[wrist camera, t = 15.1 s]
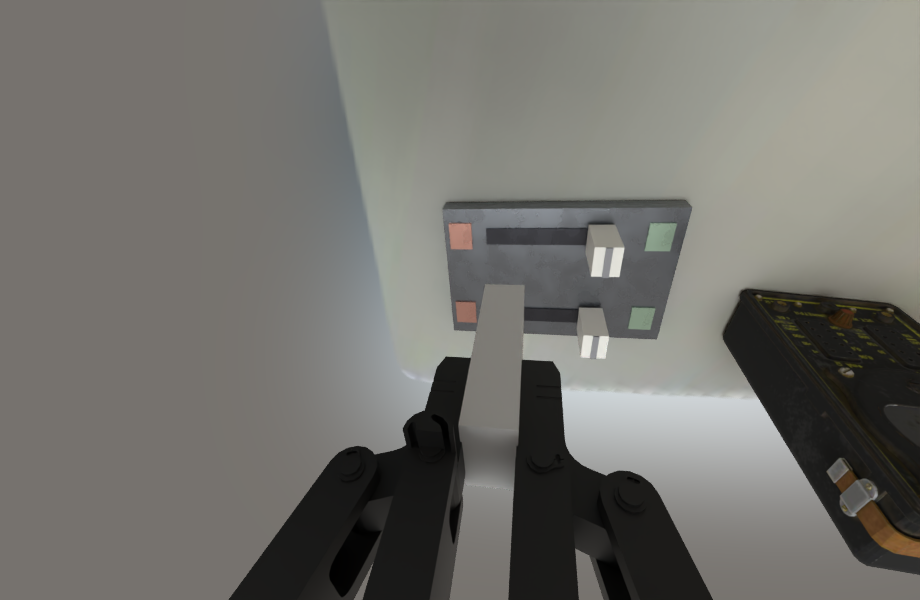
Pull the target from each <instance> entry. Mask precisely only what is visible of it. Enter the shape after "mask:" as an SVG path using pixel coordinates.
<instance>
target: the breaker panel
mask: <svg viewBox="0 0 920 600" xmlns="http://www.w3.org/2000/svg"><path fill="white" fill-rule="evenodd" d="M691 211H692V207H691V205H690V204H689V203H688V202H687V201H686V200H643V201H547V202H452V203H446V204H445V206H444V208H443V219H444V230H445V240H446V250H447V261H448V271H449V281H450V292H451V302H452V312H453V322H454V330H461V331H476V330H477V325H478V319H479V314H480V309H481V304H482V299H483V293H484V288H485V284H495V285H525V287H524V330H523V333H527V334H549V335H572V336H578V335H577V321H578V313H579V307H581V308H602V309H603V313H604V317H605V321H606V326H607V330H608V334H609V337H616V338H638V339H657V337H658V333H659V329H660V326H661V322H662V318H663V314H664V311H665V307H666V303H667V300H668V296H669V292H670V288H671V285H672V281H673V277H674V274H675V270H676V266H677V263H678V259H679V255H680V251H681V248H682V244H683V240H684V237H685V233H686V229H687V225H688V222H689V218H690V214H691ZM589 225H616V228H617V230H618V233H619V235H620V238H621V240H622V242H623V245H624V247H625V248H624V254H623V259H622V265H621V270H620V276H619V277H609V278H602V277H591V275H590V270H589V266H588V261H587V257H586V252H585V251H586V243H587V235H588V226H589Z"/></svg>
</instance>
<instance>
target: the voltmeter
mask: <svg viewBox="0 0 920 600" xmlns="http://www.w3.org/2000/svg"><path fill="white" fill-rule="evenodd" d="M740 300H741V301H742V302H741V304H740V305H739V307H738V309H737V311H736V313H735V315H734V317H733V319H732V321H731V322H730V324H729V326H728V328H727V330H726V332H725V334H724V336H723V340H724V342H725V344H726V345H727V347H728V349H729V350H730V352H731V354H732V355H733V357H734V359H735V360H736V362H737V363H738V365H739V367H740V368H741V370H742V372H743V373H744V375H745V377H746V378H747V380H748V382H749V383H750V385H751V387H752V388H753V390H754V392H755V393H756V395H757V397H758V398H759V400H760V402H761V403H762V405H763V406H764V408H765V410H766V411H767V413H768V415H769V416H770V418H771V420H772V421H773V423H774V425H775V426H776V428H777V430H778V431H779V433H780V434H781V436H782V438H783V440H784V441H785V443H786V445H787V446H788V448H789V449H790V451H791V453H792V454H793V456H794V458H795V459H796V461H797V462H798V464H799V466H800V468H801V469H802V471H803V473H804V474H805V476H806V478H807V479H808V481H809V483H810V484H811V486H812V488H813V489H814V491H815V492H816V494H817V496H818V497H819V499H820V501H821V502H822V504H823V506H824V507H825V509H826V510H827V512H828V514H829V516H830V517H831V519H832V521H833V522H834V524H835V526H836V527H837V529H838V531H839V532H840V534H841V535H842V537H843V539H844V540H845V542H846V544H847V545H848V547H849V549H850V550H851V552H852V554H853V555H854V556H855V557H856V558H857V559H858V560H859V561H860V562H861V563H863V564H865V565H867V566H871V567H877V568H884V569H889V570H895V571H900V572H906V573H912V574H918V575H920V324H919V323H918V322H916V321H915V320H914V319H912V318H911V317H910V316H909V315H907V314H906V313H905V312H903V311H902V310H901V309H899V308H898V307H896V306H894V305H891V304H885V303H875V302H865V301H856V300H846V299H836V298H826V297H816V296H807V295H797V294H787V293H777V292H768V291H758V290H748V291H743V292H742V294H741V296H740Z"/></svg>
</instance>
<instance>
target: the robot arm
mask: <svg viewBox="0 0 920 600" xmlns="http://www.w3.org/2000/svg"><path fill="white" fill-rule="evenodd" d="M524 287H525V285H495V284H485V288H484V293H483V299H482V304H481V309H480V314H479V319H478V325H477V330H476V335H475V340H474V346H473V351H472V356H471V358H462V357H445V359H444V360H443V361H442V362H441V363H440V364H439V366H438V367H437V369H436V373H435V376H434V382H433V383H432V387H431V392H430V394H429V397H428V401H427V405H426V408H425V411H422V412H419V413H417V414H415V415H414V416H412V417H411V418H410V419H409V420H407V422H406V424H405V425H404V427H403V432H404V436H405V441H406V446H404V447H402V448H400V449H397V450H394V451H390V452H385V453H380V454H376V455H374V453H373V452H372V451H371V450H369V449H368V448H366V447H361V446H355V447H350V448H347V449H345V450H343V451H341V452H339V453H338V454H337V455H336V456H335V457H334V458H333V459H332V460H331V461H330V462H329V464H328V465H327V466H326V468H325V469H324V470H323V472H322V473H321V475H320V476H319V477H318V479H317V480H316V482H315V483H314V484H313V485H312V487H311V488H310V490H309V491H308V492H307V494H306V495H305V496H304V498H303V499H302V501H301V502H300V503H299V505H298V506H297V507H296V509H295V510H294V511H293V513H292V514H291V515H290V517H289V518H288V519H287V521H286V522H285V524H284V525H283V526H282V528H281V529H280V531H279V532H278V533H277V535H276V536H275V537H274V539H273V540H272V541H271V543H270V544H269V545H268V547H267V548H266V550H265V551H264V552H263V554H262V555H261V556H260V558H259V559H258V561H257V562H256V563H255V564H254V566H253V567H252V569H251V570H250V571H249V573H248V574H247V576H246V577H245V578H244V579H243V581H242V582H241V584H240V585H239V586H238V588H237V589H236V590H235V592H234V593H233V594H232V596H231V597H230V598H229V600H354V598H355V596H356V594H357V592H358V590H359V588H360V586H361V584H362V582H363V581H364V579H365V577H366V575H367V573H368V571H369V569H370V567H371V565H372V564H373V566H372V570H371V573H370V576H369V580H368V583H367V586H366V590H365V593H364V597H363V600H449V598H450V591H451V585H452V578H453V571H454V564H455V557H456V551H457V544H458V537H459V530H460V523H461V516H462V510H463V497H462V491H463V485H464V479H465V485H470V486H479V487H489V488H497V489H506V490H514V498H513V518H512V538H511V558H510V579H509V598H508V599H509V600H579V597H578V582H577V569H576V555H575V548H576V549H578V550H580V551H582V552H584V553H586V554H588V555H590V558H591V562H592V564H593V567H594V571H595V574H596V577H597V580H598V583H599V587H600V589H601V593H602V596H603V599H604V600H713V599H712V597H711V595H710V593H709V591H708V589H707V587H706V585H705V583H704V581H703V579H702V577H701V575H700V573H699V571H698V570H697V568H696V566H695V564H694V562H693V560H692V558H691V556H690V554H689V552H688V550H687V548H686V546H685V544H684V542H683V541H682V538H681V536H680V534H679V533H678V530H677V529H676V527H675V525H674V523H673V521H672V519H671V517H670V515H669V513H668V511H667V509H666V507H665V505H664V503H663V501H662V499H661V497H660V495H659V494H658V492H657V491H656V490H655V488H654V487H653V485H652V484H651V483H650V482H648V481H647V480H646V479H645V478H643V477H642V476H640V475H638V474H635V473H633V472H630V471H616V472H613V473H610V474H608V475H607V476H606V475H603V474H601V473H598V472H596V471H593V470H591V469H589V468H587V467H585V466H583V465H581V464H580V463H579V462H577V461H576V460H575V459H574V458H573V457H572V455H571V454H570V453H569V451H568V449H567V447H566V443H565V437H564V422H563V408H562V393H561V378H560V372H559V371H558V369H557V368H556V366H555V364H554V363H553V361H534V360H523V330H524ZM373 562H374V563H373Z"/></svg>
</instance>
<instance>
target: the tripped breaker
mask: <svg viewBox="0 0 920 600" xmlns="http://www.w3.org/2000/svg"><path fill="white" fill-rule="evenodd" d="M577 335H578V342H579V349H580V357H586V358H590V359H596V358H604V359H605V356H606V351H607V345H608V340H609V334H608V330H607V326H606V321H605V317H604V313H603V309H602V308H581V307H579V313H578V321H577Z"/></svg>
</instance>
